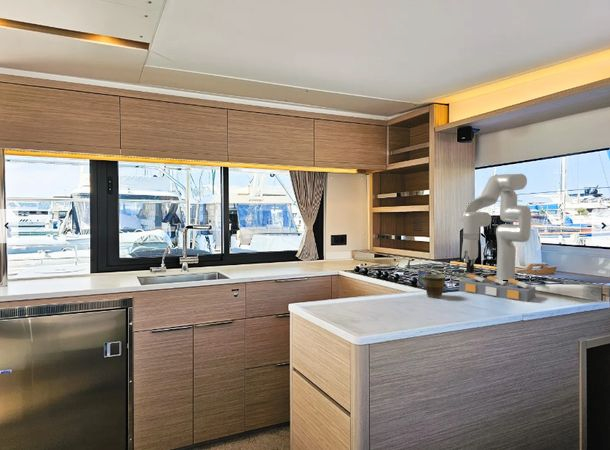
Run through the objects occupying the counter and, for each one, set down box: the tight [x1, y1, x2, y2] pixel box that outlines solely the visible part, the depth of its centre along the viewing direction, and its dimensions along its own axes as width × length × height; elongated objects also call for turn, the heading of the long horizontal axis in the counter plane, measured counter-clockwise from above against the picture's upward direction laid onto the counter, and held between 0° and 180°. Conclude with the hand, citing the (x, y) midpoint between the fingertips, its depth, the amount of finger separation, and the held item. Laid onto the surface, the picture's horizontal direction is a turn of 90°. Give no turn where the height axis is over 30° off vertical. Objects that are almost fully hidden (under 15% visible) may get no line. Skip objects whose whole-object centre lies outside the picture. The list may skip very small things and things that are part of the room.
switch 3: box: [507, 278, 529, 288], centre depth 200 cm, size 4×8×2 cm, turn 46°
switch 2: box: [486, 275, 507, 285], centre depth 207 cm, size 4×8×2 cm, turn 46°
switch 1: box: [466, 273, 486, 282], centre depth 214 cm, size 4×8×2 cm, turn 46°
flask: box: [417, 266, 433, 288], centre depth 223 cm, size 9×3×11 cm, turn 28°
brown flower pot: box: [417, 273, 446, 299], centre depth 203 cm, size 13×10×10 cm
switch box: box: [458, 277, 536, 302], centre depth 207 cm, size 13×32×6 cm, turn 46°
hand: (470, 272), depth 216 cm, fingers closed
